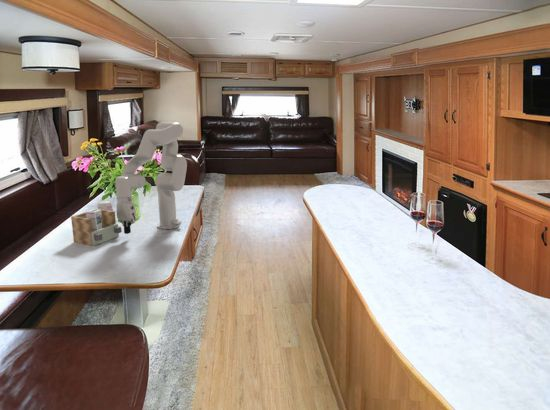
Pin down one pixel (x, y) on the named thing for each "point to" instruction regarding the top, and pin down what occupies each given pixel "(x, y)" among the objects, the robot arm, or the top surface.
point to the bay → (89, 226)
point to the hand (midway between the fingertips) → (127, 233)
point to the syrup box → (95, 219)
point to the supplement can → (105, 205)
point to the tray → (105, 234)
